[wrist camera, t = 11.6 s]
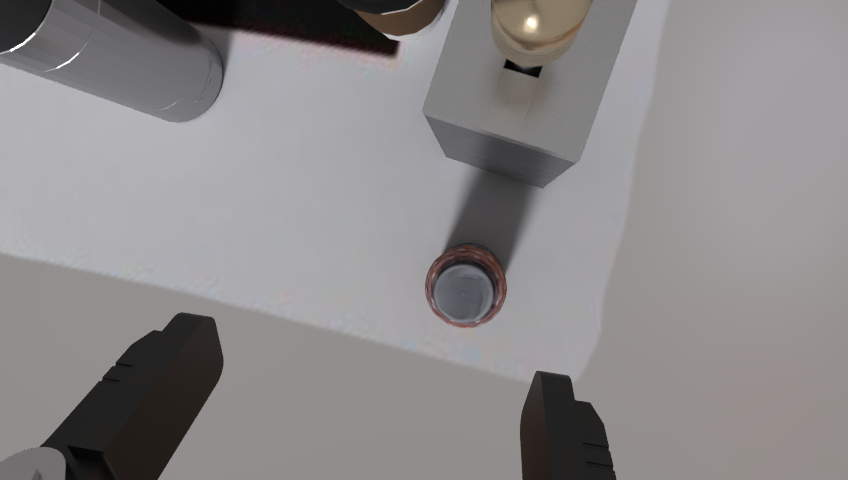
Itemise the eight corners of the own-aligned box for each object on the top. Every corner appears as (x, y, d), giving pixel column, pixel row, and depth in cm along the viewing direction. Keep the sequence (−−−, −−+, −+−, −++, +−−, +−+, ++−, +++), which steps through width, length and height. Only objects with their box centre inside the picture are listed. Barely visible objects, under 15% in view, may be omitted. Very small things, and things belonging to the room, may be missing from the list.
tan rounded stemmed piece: (459, 135, 36) (434, 41, 18) (487, 53, 35) (490, -126, 18) (541, 161, 35) (599, 89, 17) (571, 77, 34) (662, -84, 17)
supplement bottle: (429, 251, 42) (409, 258, 30) (493, 235, 41) (496, 237, 30) (445, 315, 42) (430, 345, 30) (509, 300, 41) (518, 326, 30)
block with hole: (446, 156, 41) (422, 110, 25) (479, 60, 41) (475, -48, 25) (542, 188, 40) (579, 160, 24) (577, 89, 40) (638, -5, 24)
